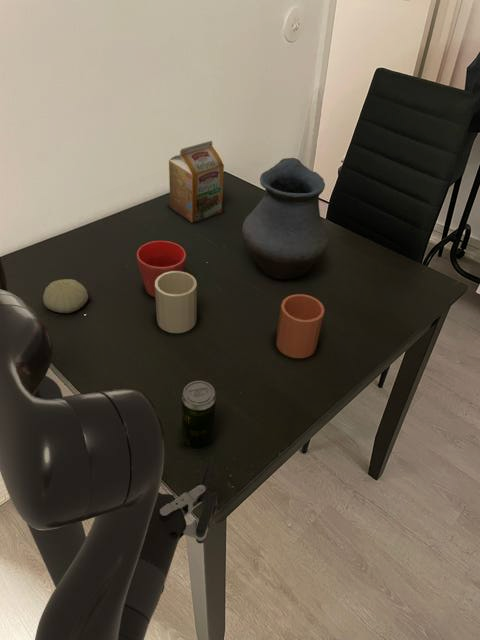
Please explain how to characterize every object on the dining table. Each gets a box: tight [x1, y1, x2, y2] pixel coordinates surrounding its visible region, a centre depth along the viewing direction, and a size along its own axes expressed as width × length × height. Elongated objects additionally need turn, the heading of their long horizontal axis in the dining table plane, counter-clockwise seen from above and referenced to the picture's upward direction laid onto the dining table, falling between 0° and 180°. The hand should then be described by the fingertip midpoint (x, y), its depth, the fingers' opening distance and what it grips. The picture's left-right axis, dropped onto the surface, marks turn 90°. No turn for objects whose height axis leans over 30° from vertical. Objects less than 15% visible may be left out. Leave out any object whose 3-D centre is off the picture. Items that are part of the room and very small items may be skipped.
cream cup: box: [155, 271, 198, 334], centre depth 105 cm, size 8×8×10 cm
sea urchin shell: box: [42, 278, 89, 314], centre depth 109 cm, size 9×8×8 cm
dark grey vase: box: [241, 157, 330, 280], centre depth 118 cm, size 21×22×25 cm
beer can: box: [181, 380, 217, 451], centre depth 82 cm, size 5×5×12 cm
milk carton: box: [168, 140, 225, 224], centre depth 139 cm, size 10×11×19 cm
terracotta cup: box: [275, 293, 325, 359], centre depth 102 cm, size 8×8×10 cm
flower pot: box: [136, 240, 187, 298], centre depth 113 cm, size 11×11×10 cm
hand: (177, 458), depth 71 cm, fingers open, 8 cm apart
